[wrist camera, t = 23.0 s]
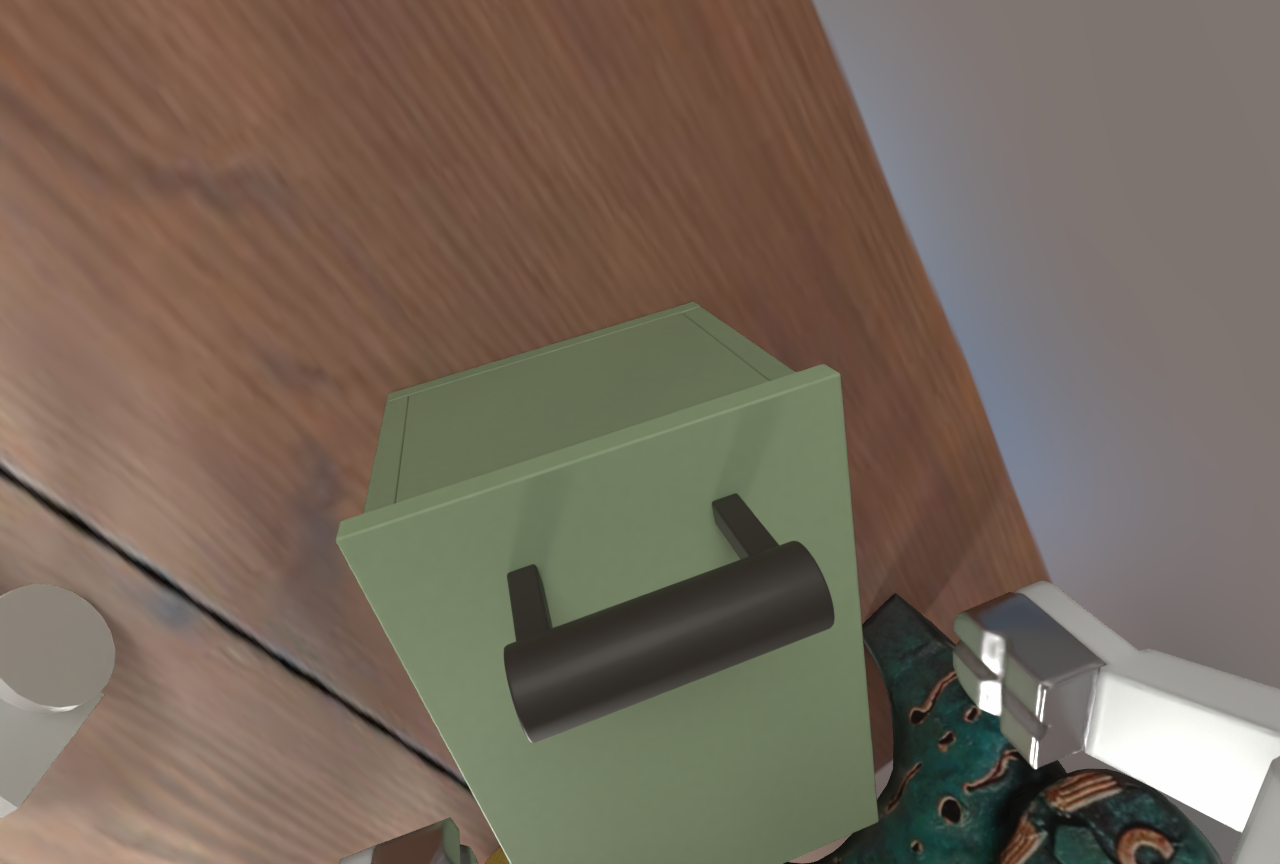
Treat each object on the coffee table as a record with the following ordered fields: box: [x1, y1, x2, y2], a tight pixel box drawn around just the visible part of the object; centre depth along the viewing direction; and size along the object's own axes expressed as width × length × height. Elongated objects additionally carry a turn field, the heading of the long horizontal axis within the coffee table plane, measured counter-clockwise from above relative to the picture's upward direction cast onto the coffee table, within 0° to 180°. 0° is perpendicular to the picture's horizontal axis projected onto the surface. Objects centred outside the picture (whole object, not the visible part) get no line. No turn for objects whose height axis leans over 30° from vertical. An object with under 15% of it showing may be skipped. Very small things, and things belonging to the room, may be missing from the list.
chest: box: [363, 302, 796, 514], centre depth 24 cm, size 17×12×10 cm
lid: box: [336, 364, 879, 864], centre depth 17 cm, size 17×12×5 cm, turn 13°
